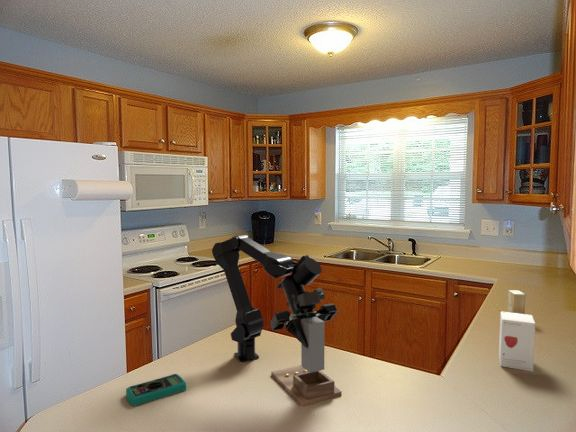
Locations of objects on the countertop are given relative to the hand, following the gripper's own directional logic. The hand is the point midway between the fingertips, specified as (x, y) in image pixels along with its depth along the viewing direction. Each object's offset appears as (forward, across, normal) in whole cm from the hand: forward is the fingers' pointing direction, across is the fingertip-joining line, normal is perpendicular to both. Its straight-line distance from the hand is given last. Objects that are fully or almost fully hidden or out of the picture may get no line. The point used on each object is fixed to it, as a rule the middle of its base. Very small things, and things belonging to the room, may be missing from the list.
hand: (315, 345), depth 107 cm
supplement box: (+18, +65, +2) cm, 68 cm away
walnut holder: (+5, 0, +14) cm, 15 cm away
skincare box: (0, +102, +20) cm, 104 cm away
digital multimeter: (-4, -38, +25) cm, 45 cm away
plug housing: (+4, 0, +6) cm, 7 cm away
